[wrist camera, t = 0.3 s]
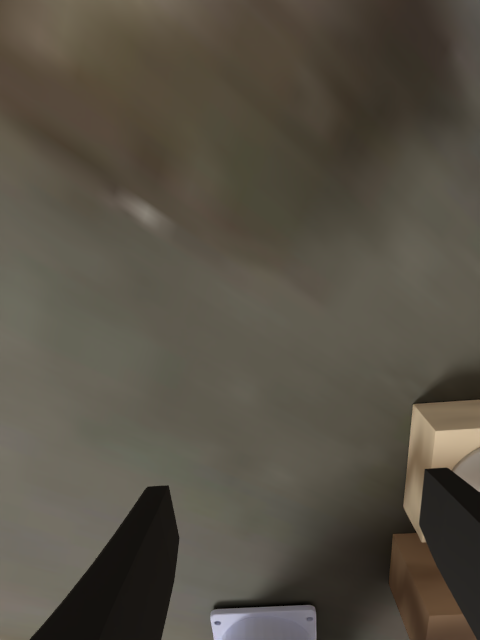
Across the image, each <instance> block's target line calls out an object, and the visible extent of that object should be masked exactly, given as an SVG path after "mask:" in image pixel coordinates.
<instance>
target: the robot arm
mask: <svg viewBox="0 0 480 640" xmlns="http://www.w3.org/2000/svg"><path fill="white" fill-rule="evenodd" d="M419 526H420V528H421V531H422V533H423V535H424V538H425V540H426V543H427V545H428V548H429V550H430V552H431V554H432V557H433V559H434V561H435V563H436V566H437V568H438V569H439V571H440V573H441V575H442V577H443V579H444V581H445V582H446V584H447V586H448V588H449V590H450V592H451V593H452V595H453V597H454V599H455V601H456V603H457V604H458V606H459V608H460V610H461V612H462V613H463V615H464V617H465V619H466V621H467V622H468V624H469V626H470V628H471V630H472V631H473V633H474V635H475V637H476V639H477V640H480V492H479V491H477V490H476V489H475V488H474V487H472V486H471V485H470V484H468V483H467V482H466V481H464V480H463V479H462V478H461V477H459V476H458V475H457V474H455V473H454V472H453V471H451V470H450V469H449V468H447V467H446V468H431V469H425V471H424V481H423V490H422V500H421V509H420V518H419ZM178 545H179V534H178V529H177V524H176V519H175V515H174V510H173V505H172V500H171V495H170V490H169V485H168V486H152V487H147V488H146V489H145V490H144V492H143V493H142V495H141V496H140V498H139V499H138V501H137V502H136V504H135V505H134V507H133V508H132V509H131V511H130V512H129V514H128V515H127V517H126V518H125V520H124V521H123V522H122V524H121V525H120V527H119V528H118V530H117V531H116V532H115V534H114V535H113V537H112V538H111V539H110V541H109V542H108V543H107V545H106V546H105V547H104V549H103V550H102V552H101V553H100V554H99V556H98V557H97V558H96V560H95V561H94V562H93V564H92V565H91V566H90V568H89V569H88V570H87V571H86V573H85V574H84V575H83V576H82V578H81V579H80V580H79V581H78V583H77V584H76V585H75V586H74V588H73V589H72V590H71V591H70V593H69V594H68V595H67V597H66V598H65V599H64V600H63V601H62V603H61V604H60V605H59V606H58V607H57V609H56V610H55V611H54V612H53V613H52V615H51V616H50V617H49V618H48V619H47V620H46V622H45V623H44V624H43V625H42V626H41V627H40V628H39V630H38V631H37V632H36V633H35V634H34V635H33V636H32V637H31V639H30V640H161V638H162V633H163V629H164V625H165V620H166V616H167V611H168V606H169V602H170V597H171V593H172V588H173V583H174V578H175V570H176V563H177V554H178ZM210 619H211V625H212V630H213V636H214V640H317V632H316V610H315V607H314V606H312V605H294V606H272V607H250V608H228V609H214V610H213V611H212V612H211V618H210Z"/></svg>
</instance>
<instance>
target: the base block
mask: <svg viewBox="0 0 480 640" xmlns="http://www.w3.org/2000/svg"><path fill="white" fill-rule="evenodd" d="M446 467H447V468H449V469H450V470H451V471H453V472H454V473H455V474H457V475H458V476H459V477H461V478H462V479H463V480H464V481H466V482H467V483H468V484H470V485H471V486H472V487H474V488H475V489H476V490H477V491H479V492H480V400H466V401H451V402H436V403H421V404H413V411H412V421H411V431H410V442H409V452H408V463H407V473H406V483H405V494H404V504H403V507H404V509H405V511H406V513H407V515H408V517H409V519H410V521H411V523H412V525H413V527H414V529H415V530H416V532H417V534H418V536H419V538H420V540H421V542H426V540H425V538H424V535H423V533H422V531H421V528H420V526H419V518H420V509H421V500H422V490H423V481H424V471H425V469H431V468H446Z"/></svg>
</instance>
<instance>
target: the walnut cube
mask: <svg viewBox="0 0 480 640" xmlns="http://www.w3.org/2000/svg"><path fill="white" fill-rule="evenodd" d="M389 586H390V588H391V591H392V594H393V596H394V599H395V601H396V604H397V607H398V609H399V612H400V615H401V617H402V620H403V623H404V625H405V628H406V630H407V633H408V636H409V638H410V640H477V639H476V637H475V635H474V633H473V631H472V630H471V628H470V626H469V624H468V622H467V621H466V619H465V617H464V615H463V613H462V612H461V610H460V608H459V606H458V604H457V603H456V601H455V599H454V597H453V595H452V593H451V592H450V590H449V588H448V586H447V584H446V582H445V581H444V579H443V577H442V575H441V573H440V571H439V569H438V568H437V566H436V563H435V561H434V559H433V557H432V554H431V552H430V550H429V548H428V545H427V543H426V542H421V540H420V538H419V536H418V534H417V533H404V534H393V539H392V551H391V563H390V574H389Z"/></svg>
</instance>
